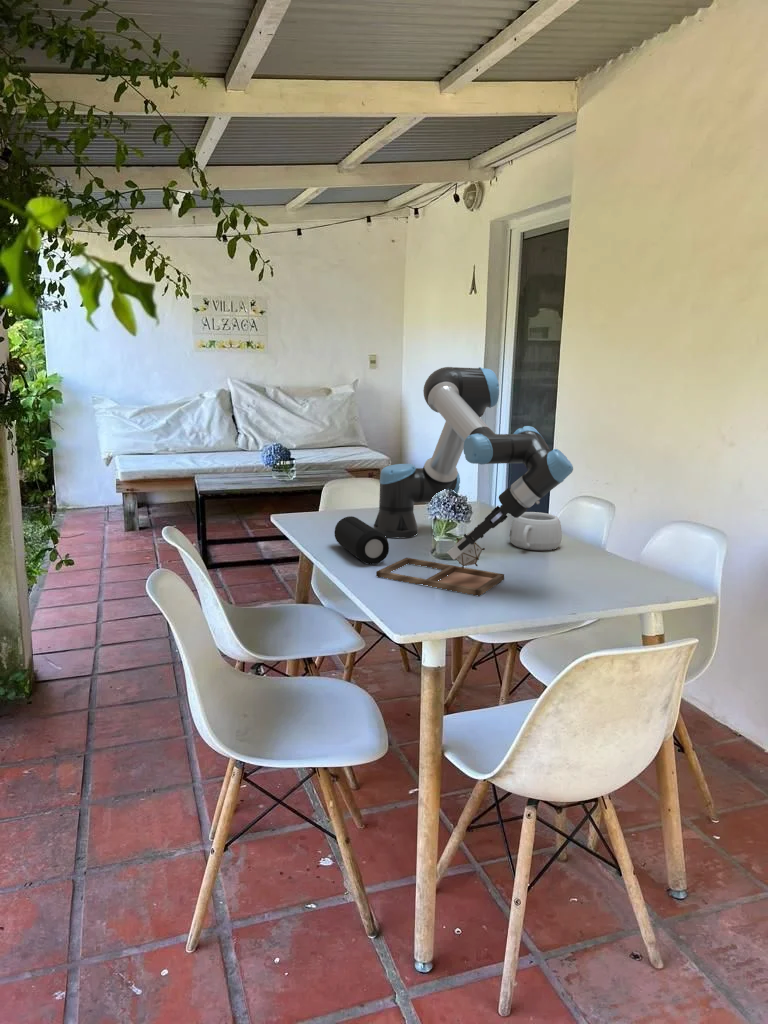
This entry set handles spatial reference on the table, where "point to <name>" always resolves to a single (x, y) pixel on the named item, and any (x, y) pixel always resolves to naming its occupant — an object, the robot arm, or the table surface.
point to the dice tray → (447, 577)
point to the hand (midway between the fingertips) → (454, 551)
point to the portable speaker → (361, 540)
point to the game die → (469, 555)
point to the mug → (536, 531)
